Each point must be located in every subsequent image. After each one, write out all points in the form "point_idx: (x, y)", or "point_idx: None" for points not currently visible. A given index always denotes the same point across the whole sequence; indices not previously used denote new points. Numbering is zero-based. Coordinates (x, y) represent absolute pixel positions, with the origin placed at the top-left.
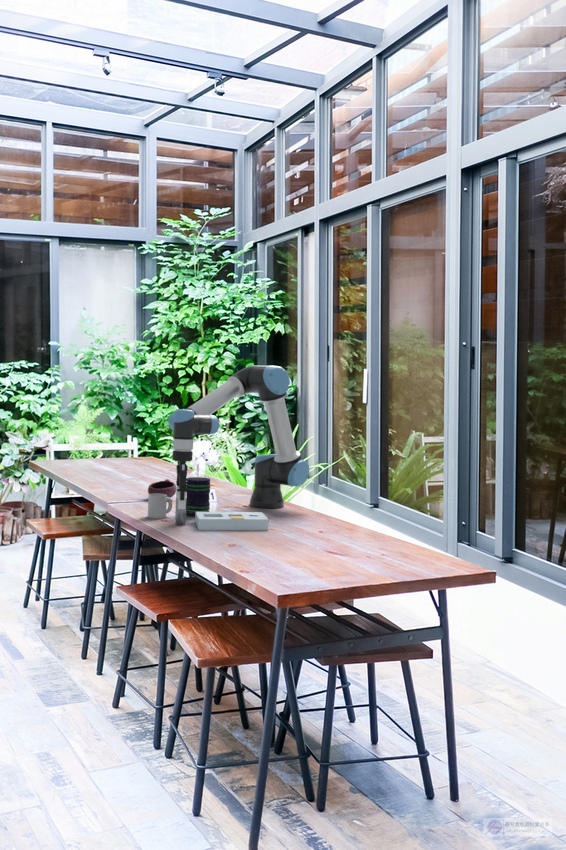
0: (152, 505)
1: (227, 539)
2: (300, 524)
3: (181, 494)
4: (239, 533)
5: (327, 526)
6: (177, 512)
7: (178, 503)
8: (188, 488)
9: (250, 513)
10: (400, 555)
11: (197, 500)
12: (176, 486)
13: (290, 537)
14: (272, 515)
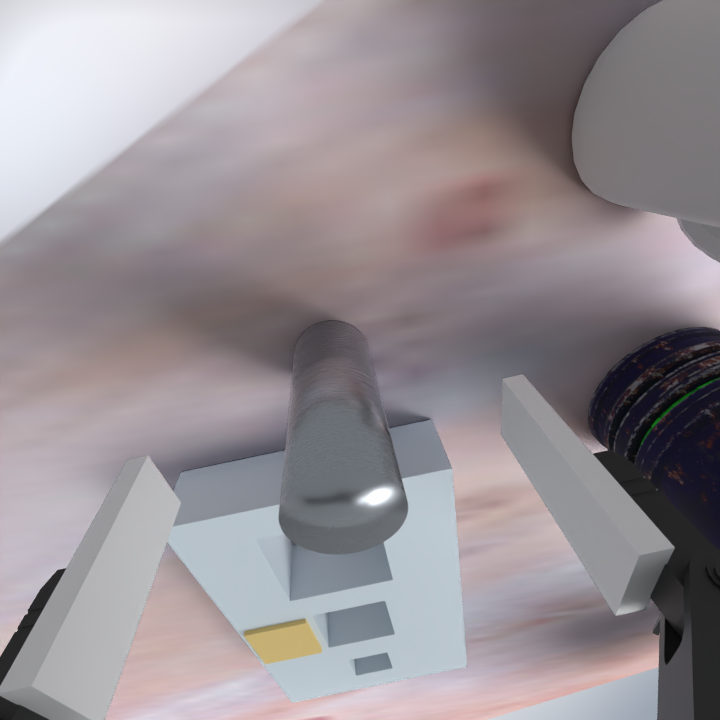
0: (702, 37)
1: (5, 596)
2: (425, 682)
3: (5, 669)
4: (179, 604)
5: (403, 717)
6: (292, 393)
7: (100, 511)
8: None
9: (428, 650)
10: None
11: (683, 488)
12: (670, 548)
13: (184, 698)
14: (601, 618)
